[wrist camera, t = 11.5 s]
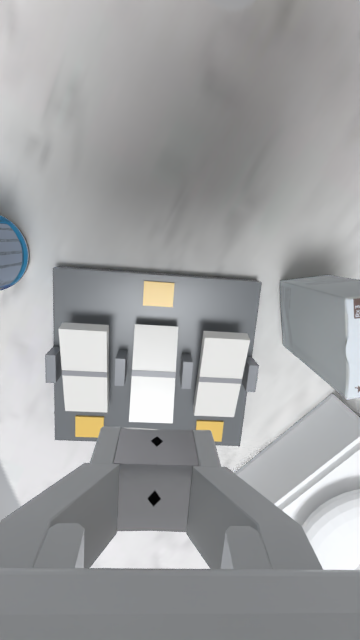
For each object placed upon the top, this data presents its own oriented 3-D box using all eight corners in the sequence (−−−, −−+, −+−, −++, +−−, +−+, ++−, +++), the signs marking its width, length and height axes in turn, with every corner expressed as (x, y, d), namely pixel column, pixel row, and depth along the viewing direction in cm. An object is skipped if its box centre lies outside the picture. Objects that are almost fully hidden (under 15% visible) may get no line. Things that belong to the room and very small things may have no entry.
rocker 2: (135, 324, 35) (134, 324, 34) (177, 326, 36) (178, 326, 34) (129, 417, 35) (128, 421, 34) (172, 419, 36) (172, 423, 34)
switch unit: (58, 266, 36) (43, 270, 31) (256, 280, 38) (269, 285, 33) (59, 430, 41) (47, 455, 36) (236, 436, 42) (245, 460, 38)
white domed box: (331, 391, 42) (430, 480, 27) (407, 478, 46) (532, 599, 30) (226, 477, 44) (262, 605, 29) (307, 552, 48) (378, 701, 32)
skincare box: (328, 339, 40) (423, 396, 26) (279, 346, 40) (346, 406, 25) (327, 270, 38) (430, 289, 24) (276, 276, 38) (347, 299, 23)
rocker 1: (62, 322, 33) (58, 329, 31) (108, 324, 33) (106, 331, 32) (68, 402, 37) (65, 411, 36) (109, 403, 37) (107, 412, 36)
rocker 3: (203, 330, 34) (205, 337, 32) (247, 333, 34) (250, 340, 33) (193, 406, 38) (194, 416, 37) (231, 408, 38) (234, 417, 37)
